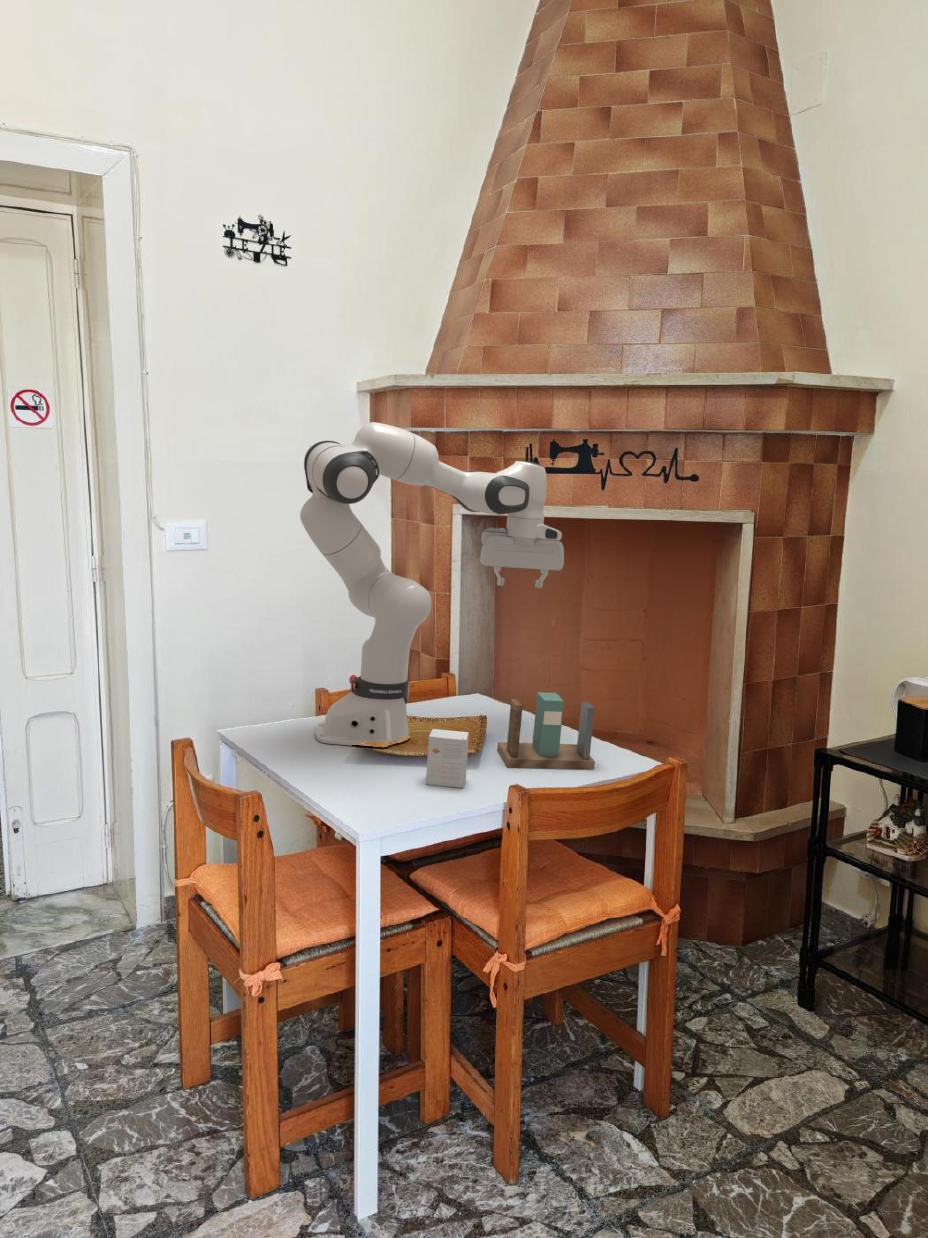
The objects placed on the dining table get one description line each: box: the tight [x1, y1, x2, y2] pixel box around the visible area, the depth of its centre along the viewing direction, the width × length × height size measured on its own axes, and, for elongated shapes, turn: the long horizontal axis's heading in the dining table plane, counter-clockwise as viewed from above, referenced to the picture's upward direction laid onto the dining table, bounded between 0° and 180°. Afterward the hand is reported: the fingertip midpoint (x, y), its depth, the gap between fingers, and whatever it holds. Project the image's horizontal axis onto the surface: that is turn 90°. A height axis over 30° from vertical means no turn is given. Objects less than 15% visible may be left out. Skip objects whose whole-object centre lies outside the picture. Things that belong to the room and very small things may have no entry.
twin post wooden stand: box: [496, 698, 596, 770], centre depth 211 cm, size 20×12×14 cm, turn 98°
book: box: [531, 691, 565, 757], centre depth 211 cm, size 4×7×13 cm, turn 8°
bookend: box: [576, 701, 595, 760], centre depth 210 cm, size 2×6×12 cm, turn 9°
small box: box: [425, 728, 470, 789], centre depth 192 cm, size 8×6×10 cm
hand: (519, 586), depth 225 cm, fingers open, 8 cm apart
